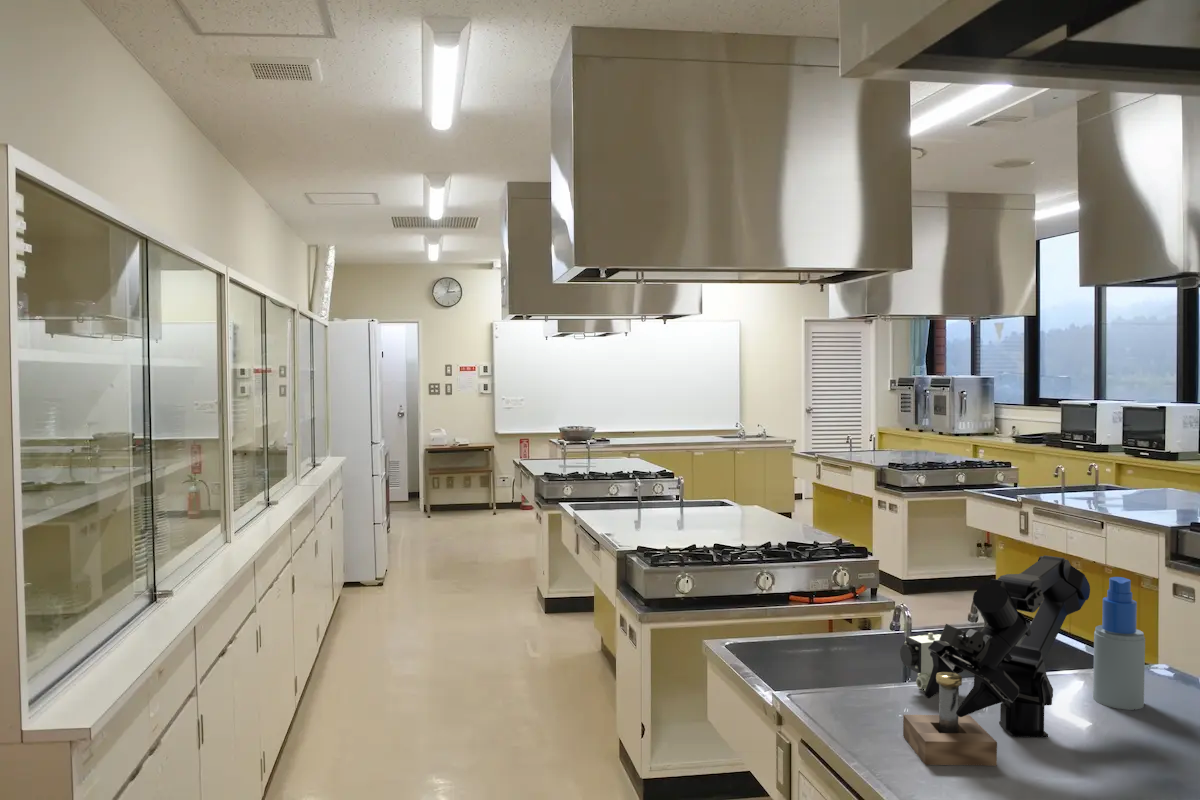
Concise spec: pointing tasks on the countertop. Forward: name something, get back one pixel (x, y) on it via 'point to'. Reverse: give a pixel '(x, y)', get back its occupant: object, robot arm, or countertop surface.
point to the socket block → (949, 741)
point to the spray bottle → (1119, 650)
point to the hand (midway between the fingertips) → (941, 705)
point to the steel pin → (948, 701)
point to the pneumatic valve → (919, 656)
